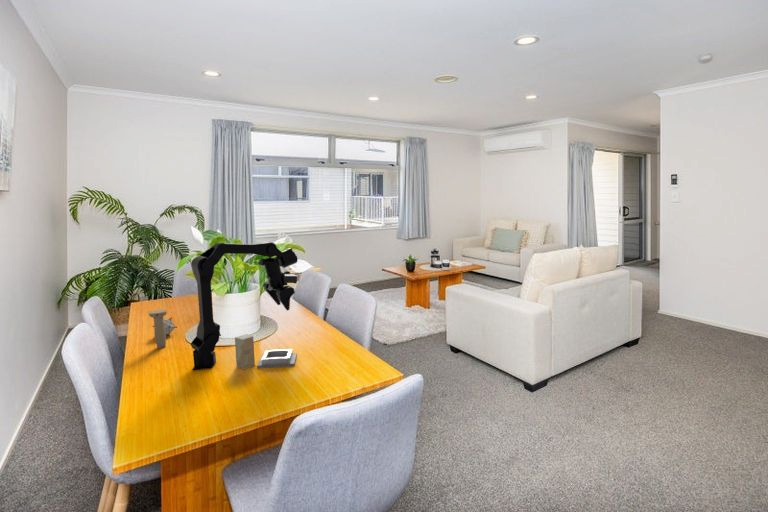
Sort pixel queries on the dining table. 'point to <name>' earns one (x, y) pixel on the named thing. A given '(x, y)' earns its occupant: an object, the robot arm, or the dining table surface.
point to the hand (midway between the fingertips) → (283, 307)
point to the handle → (159, 327)
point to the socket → (277, 358)
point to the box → (244, 351)
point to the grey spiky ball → (168, 326)
